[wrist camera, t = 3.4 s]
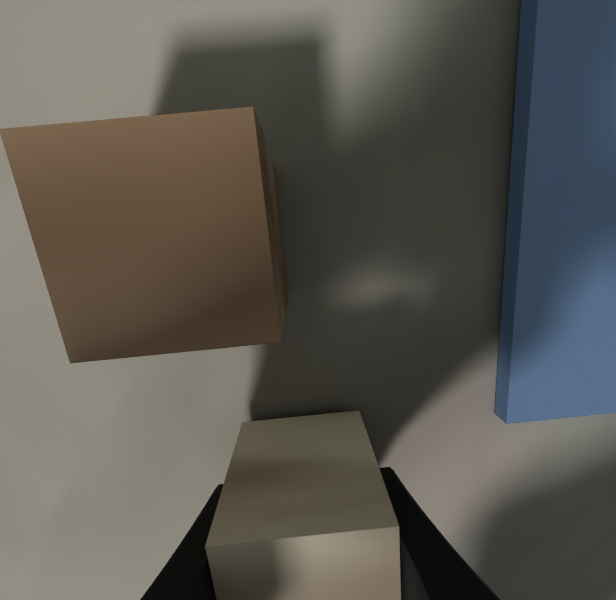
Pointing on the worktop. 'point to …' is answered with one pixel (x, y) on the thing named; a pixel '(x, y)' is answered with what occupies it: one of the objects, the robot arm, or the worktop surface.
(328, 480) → the maple block
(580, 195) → the board
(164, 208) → the walnut block
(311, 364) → the worktop surface
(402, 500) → the robot arm
